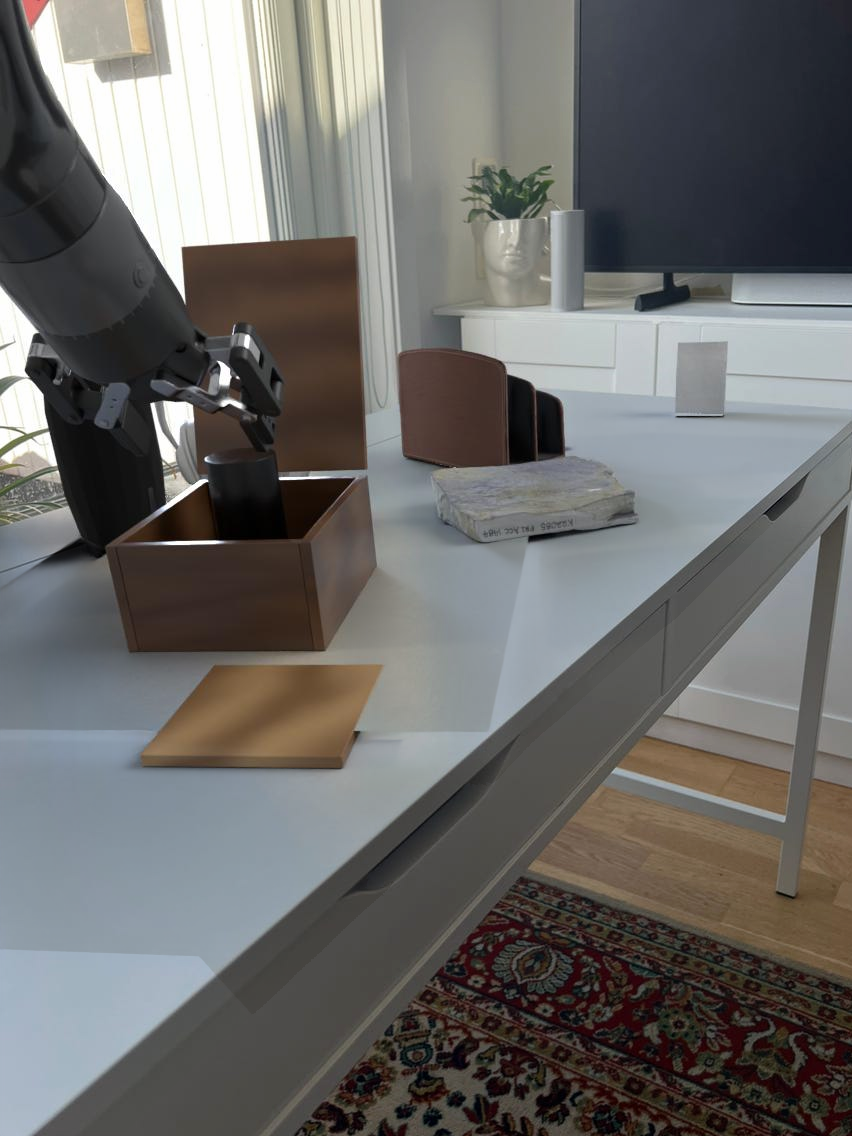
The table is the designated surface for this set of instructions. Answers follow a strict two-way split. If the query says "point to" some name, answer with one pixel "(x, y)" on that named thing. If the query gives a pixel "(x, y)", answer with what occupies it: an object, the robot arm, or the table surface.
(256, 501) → the tin
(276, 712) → the board
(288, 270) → the lid
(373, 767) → the table surface
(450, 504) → the fossil
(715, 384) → the grey rectangular block
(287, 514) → the wooden box
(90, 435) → the portable speaker
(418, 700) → the table surface
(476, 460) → the letter holder
